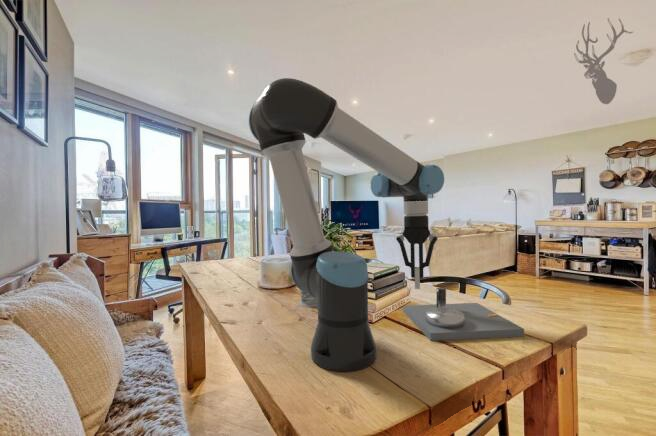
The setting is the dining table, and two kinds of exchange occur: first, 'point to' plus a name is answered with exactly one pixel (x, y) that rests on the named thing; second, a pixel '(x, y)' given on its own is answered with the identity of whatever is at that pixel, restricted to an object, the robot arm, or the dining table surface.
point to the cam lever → (444, 313)
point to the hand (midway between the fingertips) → (417, 287)
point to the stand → (465, 323)
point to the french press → (308, 300)
